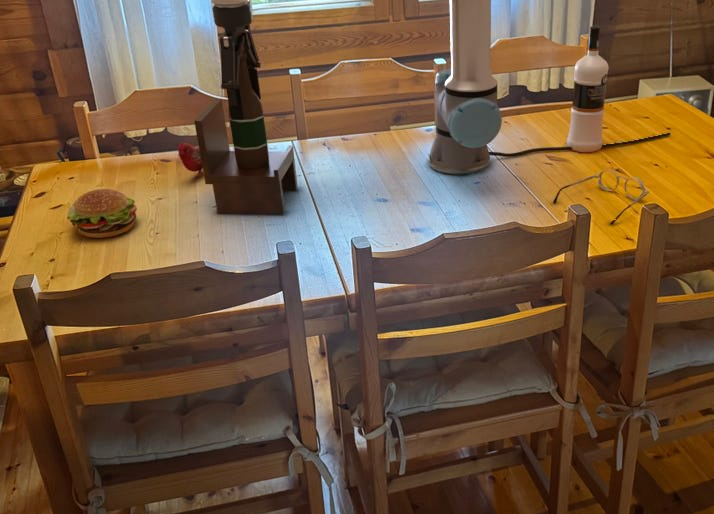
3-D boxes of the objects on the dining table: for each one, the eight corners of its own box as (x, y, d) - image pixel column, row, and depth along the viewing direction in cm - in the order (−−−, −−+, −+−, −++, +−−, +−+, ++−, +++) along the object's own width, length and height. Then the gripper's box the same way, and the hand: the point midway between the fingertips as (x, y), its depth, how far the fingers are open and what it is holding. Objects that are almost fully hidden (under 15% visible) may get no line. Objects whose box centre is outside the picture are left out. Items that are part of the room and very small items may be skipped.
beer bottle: (263, 170, 179) (247, 57, 165) (230, 168, 180) (211, 56, 166) (275, 157, 185) (261, 48, 171) (243, 155, 186) (227, 46, 173)
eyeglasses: (653, 204, 183) (656, 183, 180) (613, 225, 174) (615, 204, 171) (591, 184, 193) (593, 163, 190) (550, 203, 184) (552, 182, 181)
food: (88, 213, 183) (79, 179, 179) (148, 215, 182) (140, 181, 177) (58, 240, 172) (48, 205, 167) (122, 242, 170) (114, 207, 166)
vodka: (580, 138, 218) (591, 20, 202) (609, 146, 213) (622, 26, 196) (559, 147, 213) (568, 26, 196) (587, 156, 208) (599, 33, 191)
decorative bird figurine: (179, 187, 195) (171, 146, 189) (214, 160, 209) (208, 122, 203) (190, 188, 194) (182, 147, 188) (224, 161, 208) (218, 123, 203)
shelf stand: (297, 188, 193) (287, 99, 181) (283, 215, 181) (271, 121, 169) (229, 187, 194) (215, 98, 182) (210, 213, 182) (194, 120, 170)
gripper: (229, -9, 174) (244, 91, 186) (193, 17, 154) (212, 128, 166) (264, -9, 174) (277, 91, 186) (232, 17, 153) (248, 128, 165)
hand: (246, 109), depth 176 cm, fingers open, 13 cm apart
